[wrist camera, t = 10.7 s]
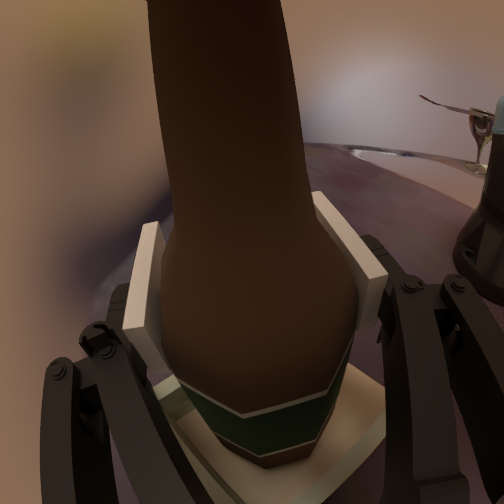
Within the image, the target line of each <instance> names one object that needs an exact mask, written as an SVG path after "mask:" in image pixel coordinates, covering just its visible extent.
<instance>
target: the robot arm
mask: <svg viewBox="0 0 504 504" xmlns="http://www.w3.org/2000/svg"><path fill="white" fill-rule="evenodd" d="M491 132H492V133H493V138H492V145H491V151H490V157H489V162H488V167H487V172H486V177H485V182H484V186H483V191H482V195H481V199H480V202H479V205H478V206H477V208H476V209H475V211H474V212H473V214H472V215H471V217H470V218H469V220H468V221H467V223H466V224H465V226H464V227H463V228H462V230H461V231H460V233H459V235H458V238H457V241H456V244H455V248H454V253H453V255H454V261H455V264H456V266H457V268H458V270H459V272H460V273H461V275H462V276H461V275H458V274H450V275H447V276H446V277H445V279H444V281H443V283H442V284H425V283H424V281H422V280H421V279H420V278H418V277H416V276H414V275H409V274H406V273H405V272H404V270H403V269H402V268H401V267H400V265H399V264H398V263H397V262H396V261H395V259H394V258H393V257H392V256H391V255H389V252H388V251H387V250H386V249H384V246H383V245H382V244H381V243H380V242H379V240H377V239H376V238H374V237H372V236H371V235H369V234H368V235H363V236H358V235H357V233H356V232H355V231H354V230H353V229H352V227H351V226H350V225H349V224H348V223H347V221H346V220H345V219H344V218H343V217H342V215H341V214H340V213H339V212H338V211H337V210H336V208H335V207H334V206H333V205H332V204H331V203H330V201H329V200H328V199H327V198H326V197H325V196H324V195H323V194H322V192H321V191H317V192H312V197H313V201H314V206H315V211H316V216H317V219H318V220H319V222H320V223H321V224H322V226H323V227H324V228H325V230H326V231H327V233H328V234H329V235H330V237H331V238H332V239H333V241H334V242H335V243H336V245H337V246H338V248H339V249H340V250H341V252H342V253H343V255H344V256H345V257H346V259H347V260H348V262H349V265H350V268H351V271H352V275H353V278H354V281H355V284H356V287H357V291H358V294H359V303H358V314H357V322H356V328H357V329H358V331H360V330H363V329H366V328H369V327H373V326H375V324H376V321H377V317H379V319H380V320H381V322H382V326H381V329H380V332H379V335H378V338H377V343H380V340H381V342H382V353H383V366H384V382H385V407H386V454H385V477H384V490H383V495H382V497H381V499H380V502H379V504H469V495H470V489H469V482H468V480H467V478H466V476H464V475H463V474H462V473H461V472H460V470H459V464H458V446H457V433H456V423H455V415H454V407H453V400H452V393H451V389H452V392H453V394H454V396H455V399H456V402H457V404H458V407H459V409H460V412H461V415H462V417H463V420H464V423H465V426H466V429H467V432H468V435H469V438H470V441H471V444H472V447H473V450H474V453H475V457H476V460H477V463H478V467H479V470H480V474H481V478H482V481H483V484H484V487H485V490H486V492H487V495H488V497H489V499H490V501H491V502H492V504H504V333H503V332H502V330H501V328H500V327H499V325H498V323H497V322H496V320H495V319H494V317H493V315H492V314H491V312H490V311H489V309H488V308H487V306H486V305H485V303H484V302H483V300H482V299H481V297H480V296H479V294H478V293H477V291H478V292H479V293H480V294H482V295H483V296H485V297H486V298H488V299H490V300H492V301H494V302H496V303H498V304H501V305H504V96H502V97H501V98H500V99H499V100H498V102H497V105H496V112H495V119H494V126H493V127H492V131H491ZM165 247H166V245H165V242H164V238H163V235H162V232H161V229H160V226H159V223H158V221H157V222H153V223H148V224H144V225H143V228H142V232H141V237H140V241H139V245H138V249H137V254H136V258H135V263H134V268H133V272H132V277H131V282H130V283H125V284H120V285H118V286H117V287H116V289H115V290H114V292H113V293H112V295H111V299H110V305H109V308H108V313H107V317H106V322H105V321H98V322H94V323H92V324H90V325H89V326H87V327H86V328H85V329H84V330H83V332H82V333H81V335H80V338H79V344H80V346H81V347H82V348H83V349H84V351H85V352H86V353H87V354H88V357H87V358H84V359H82V360H80V361H77V362H75V363H73V362H72V361H71V360H70V359H68V358H66V357H60V358H57V359H55V360H54V361H52V362H51V363H50V365H49V366H48V368H47V370H46V373H45V380H44V388H43V398H42V409H41V426H40V477H41V494H42V504H119V501H118V496H117V490H116V484H115V477H114V470H113V462H112V454H111V445H110V434H109V428H110V431H111V434H112V437H113V439H114V442H115V445H116V448H117V451H118V453H119V456H120V458H121V461H122V464H123V466H124V468H125V471H126V473H127V476H128V478H129V480H130V483H131V485H132V487H133V489H134V492H135V494H136V496H137V498H138V500H139V502H140V504H215V503H214V502H213V500H212V498H211V497H210V495H209V494H208V492H207V491H206V489H205V487H204V486H203V484H202V482H201V481H200V479H199V477H198V476H197V474H196V472H195V471H194V469H193V467H192V465H191V464H190V462H189V460H188V458H187V457H186V455H185V453H184V451H183V449H182V447H181V445H180V444H179V442H178V440H177V438H176V436H175V434H174V432H173V430H172V428H171V426H170V424H169V422H168V420H167V418H166V416H165V414H164V412H163V409H162V407H161V405H160V403H159V401H158V399H157V396H156V394H155V392H154V390H153V387H152V385H151V383H150V381H149V380H148V379H147V377H146V373H147V368H148V369H149V371H150V372H151V374H157V373H165V372H171V371H170V365H169V362H168V360H167V358H166V355H165V353H164V351H163V348H162V340H161V297H160V287H161V258H162V255H163V253H164V250H165ZM456 324H458V326H459V328H460V329H459V328H458V327H457V325H456Z"/></svg>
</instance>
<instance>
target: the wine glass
mask: <svg viewBox="0 0 504 504" xmlns="http://www.w3.org/2000/svg"><path fill="white" fill-rule="evenodd" d="M494 119H495V114H492V113H489V112H487V111H484V110H480V109H476V108H470V111H469V124H470V130H471V133H472V135H473V136H474V138H475V140H476V142H477V146H478V156H477V162H476V164H473V163H466V164H465V167H466V168H468V169H469V170H471V171H473V172H476V173H479V174H484V175H486V172H487V169H485V168H484V167H482V166H480V165H479V161H480V156H481V152H482V149H483V147H484V146H485V145H486V144H487V143H488V142H489V141H491V140H492V138H493V133H492V132H491V131H492V127H493V126H494Z"/></svg>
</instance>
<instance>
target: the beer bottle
mask: <svg viewBox="0 0 504 504" xmlns="http://www.w3.org/2000/svg"><path fill="white" fill-rule="evenodd" d="M146 1H147V3H148V4H147V5H148V19H149V32H150V44H151V55H152V64H153V73H154V82H155V90H156V97H157V104H158V113H159V119H160V126H161V133H162V139H163V145H164V152H165V157H166V164H167V169H168V175H169V181H170V186H171V191H172V200H173V212H174V227H173V229H172V232H171V234H170V237H169V239H168V242H167V245H166V247H165V250H164V253H163V255H162V258H161V287H160V297H161V340H162V348H163V351H164V353H165V355H166V358H167V360H168V362H169V365H170V367H171V369H172V371H173V373H174V376H175V377H176V379H177V381H178V382H179V384H180V385H181V387H182V388H183V390H184V391H185V393H186V395H187V396H188V398H189V399H190V401H191V402H192V404H193V405H194V406H195V408H196V409H197V411H198V412H199V414H200V415H201V417H202V418H203V419H204V421H205V422H206V424H207V425H208V426H209V428H210V429H211V431H212V432H213V433H214V435H215V436H216V437H217V439H218V440H219V441H220V443H221V444H222V445H223V446H224V447H225V448H226V449H228V450H229V451H231V452H233V453H235V454H237V455H238V456H240V457H242V458H244V459H246V460H248V461H250V462H252V463H254V464H256V465H258V466H260V467H262V468H264V469H269V468H273V467H277V466H280V465H284V464H287V463H291V462H294V461H298V460H301V459H304V458H307V457H310V455H311V453H312V452H313V450H314V448H315V446H316V444H317V443H318V441H319V439H320V437H321V435H322V433H323V431H324V430H325V428H326V426H327V424H328V422H329V420H330V418H331V416H332V414H333V411H334V408H335V405H336V402H337V398H338V395H339V392H340V388H341V385H342V381H343V378H344V374H345V371H346V367H347V363H348V359H349V355H350V351H351V347H352V343H353V339H354V335H355V330H356V322H357V314H358V303H359V294H358V291H357V287H356V284H355V281H354V278H353V275H352V271H351V268H350V265H349V262H348V260H347V259H346V257H345V256H344V255H343V253H342V252H341V250H340V249H339V248H338V246H337V245H336V243H335V242H334V241H333V239H332V238H331V237H330V235H329V234H328V233H327V231H326V230H325V228H324V227H323V226H322V224H321V223H320V222H319V220H318V219H317V216H316V211H315V206H314V201H313V197H312V192H311V188H310V183H309V179H308V174H307V170H306V163H305V154H304V145H303V137H302V129H301V121H300V113H299V106H298V100H297V93H296V86H295V79H294V73H293V67H292V61H291V55H290V49H289V43H288V39H287V32H286V27H285V22H284V17H283V12H282V7H281V2H280V0H146Z"/></svg>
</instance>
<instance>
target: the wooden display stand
mask: <svg viewBox="0 0 504 504" xmlns="http://www.w3.org/2000/svg"><path fill="white" fill-rule="evenodd" d="M153 390H154V392H155V394H156V396H157V399H158V401H159V403H160V405H161V407H162V409H163V412H164V414H165V416H166V418H167V420H168V422H169V424H170V426H171V428H172V430H173V432H174V434H175V436H176V438H177V440H178V442H179V444H180V445H181V447H182V449H183V451H184V453H185V455H186V457H187V458H188V460H189V462H190V464H191V465H192V467H193V469H194V471H195V472H196V474H197V476H198V477H199V479H200V481H201V482H202V484H203V486H204V487H205V489H206V491H207V492H208V494H209V495H210V497H211V498H212V500H213V502H214V503H215V504H321V503H322V502H323V501H324V500H325V499H326V498H328V497H329V496H330V495H331V494H332V493H333V492H334V491H335V490H336V489H337V488H338V487H339V486H340V485H341V484H342V483H343V482H344V481H345V480H346V479H347V478H348V477H349V476H350V475H351V474H352V473H353V472H354V471H355V470H356V469H357V468H358V467H359V466H360V465H361V464H362V463H363V462H364V461H365V460H366V458H367V457H368V456H369V455H370V454H371V453H372V452H373V451H374V449H375V448H376V447H377V446H378V445H379V444H380V442H381V441H382V440H383V439H384V438H385V436H386V407H385V387H383V386H382V385H380V384H379V383H377V382H376V381H374V380H373V379H371V378H370V377H368V376H367V375H366V374H364V373H363V372H361V371H360V370H358V369H357V368H355V367H354V366H353V365H351V364H350V363H347V367H346V371H345V374H344V378H343V381H342V385H341V388H340V392H339V395H338V398H337V402H336V405H335V408H334V411H333V414H332V416H331V418H330V420H329V422H328V424H327V426H326V428H325V430H324V431H323V433H322V435H321V437H320V439H319V441H318V443H317V444H316V446H315V448H314V450H313V452H312V453H311V455H310V457H307V458H304V459H301V460H298V461H294V462H291V463H287V464H284V465H280V466H277V467H273V468H269V469H264V468H262V467H260V466H258V465H256V464H254V463H252V462H250V461H248V460H246V459H244V458H242V457H240V456H238V455H237V454H235V453H233V452H231V451H229V450H228V449H226V448H225V447H224V446H223V445H222V444H221V443H220V441H219V440H218V439H217V437H216V436H215V435H214V433H213V432H212V431H211V429H210V428H209V426H208V425H207V424H206V422H205V421H204V419H203V418H202V417H201V415H200V414H199V412H198V411H197V409H196V408H195V406H194V405H193V404H192V402H191V401H190V399H189V398H188V396H187V395H186V393H185V391H184V390H183V388H182V387H181V385H180V384H179V382H178V381H177V379H176V377H175V376H174V374H173V375H172V376H170V377H169V378H167V379H166V380H164V381H162V382H161V383H159V384H158V385H156V386H155V387H153Z"/></svg>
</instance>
